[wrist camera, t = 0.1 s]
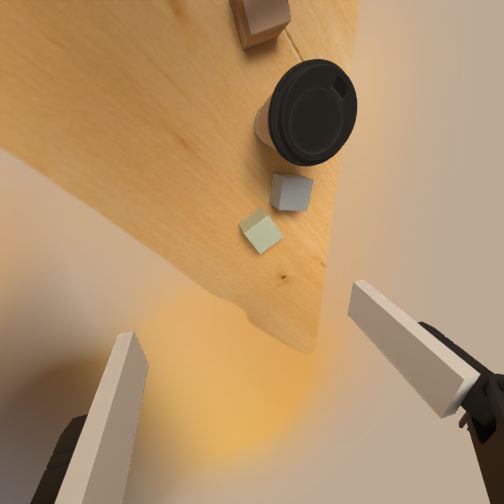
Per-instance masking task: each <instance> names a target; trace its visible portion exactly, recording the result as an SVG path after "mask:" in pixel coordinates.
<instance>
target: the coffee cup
mask: <svg viewBox="0 0 504 504" xmlns="http://www.w3.org/2000/svg"><path fill="white" fill-rule="evenodd" d="M356 115H357V98H356V92H355V89H354V86H353V84H352V82H351V80H350V79H349V77H348V76H347V75H346V74H345V72H344V71H343V70H342V69H341V68H340V67H339V66H337V65H336V64H334V63H333V62H330V61H327V60H323V59H313V60H307V61H304V62H301V63H299V64H297V65H295V66H294V67H292V68H291V69H290V70H288V71H287V72H286V73H285V74H284V76H283V77H282V78H281V79H280V81H279V82H278V84H277V86H276V88H275V90H274V92H273V94H272V95H271V96H270V97H269V98H268V99H267V100H266V102H265V103H264V105H263V106H262V107H261V108H260V110H259V111H258V113H257V115H256V118H255V122H254V129H255V132H256V134H257V136H258V138H259V139H260V140H261V141H262V142H263V143H265V144H267V145H269V146H270V147H271V148H273V149H275V150H277V151H278V152H279V154H280V155H281V156H282V157H283V158H284V159H286V160H287V161H289V162H290V163H292V164H295V165H298V166H313V165H317V164H320V163H323V162H325V161H327V160H329V159H330V158H331V157H333V156H334V155H335V154H336V153H337V152H338V151H339V150H340V149H341V147H342V146H343V145H344V144H345V142H346V141H347V139H348V138H349V136H350V134H351V132H352V130H353V127H354V124H355V121H356Z"/></svg>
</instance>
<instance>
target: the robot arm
mask: <svg viewBox="0 0 504 504" xmlns="http://www.w3.org/2000/svg"><path fill="white" fill-rule="evenodd" d="M348 315H349V316H350V318H352V320H353V321H354V322H355V323H356V324H357V325H358V327H359V328H360V329H361V330H362V331H363V332H364V333H365V334H366V335H367V337H368V338H369V339H370V340H371V341H372V342H373V343H374V344H375V346H376V347H377V348H378V349H379V350H380V351H381V352H382V353H383V354H384V355H385V357H386V358H387V359H388V360H389V361H390V362H391V363H392V364H393V366H394V367H395V368H396V369H397V370H398V371H399V372H400V374H401V375H402V376H403V377H404V378H405V379H406V380H407V381H408V382H409V384H410V385H411V386H412V387H413V388H414V389H415V390H416V391H417V393H418V394H419V395H420V396H421V397H422V398H423V399H424V400H425V401H426V402H427V404H428V405H429V406H430V407H431V408H432V409H433V410H434V412H435V413H436V414H437V415H438V416H439V417H440V418H444V417H446V416H449V415H452V414H455V413H456V411H457V410H458V408H459V407H460V405H461V406H462V407H463V408H464V409H465V410H466V413H465V414H464V415H463V417H462V418H461V420H460V422H459V427H460V428H463V427H464V425H465V424H466V422H467V425H468V428H467V430H468V431H469V432H470V435H471V439H472V442H473V445H474V449H475V452H476V456H477V459H478V463H479V466H480V470H481V473H482V476H483V480H484V483H485V487H486V490H487V494H488V497H489V501H490V504H504V375H502V374H494V373H493V372H491V371H490V370H488V369H487V368H486V367H484V366H483V365H482V364H481V363H479V362H478V361H477V360H475V359H474V358H473V357H472V356H470V355H469V354H468V353H466V352H465V351H464V350H463V349H461V348H460V347H459V346H457V345H455V344H454V343H453V342H452V341H451V340H449V339H448V338H446V337H445V336H444V335H443V334H442V333H441V332H439V331H438V330H437V329H435V328H434V327H432V326H430V325H428V324H426V323H424V322H418V323H417V322H416V321H414V320H413V319H412V318H411V317H409V316H408V315H407V314H406V313H404V312H403V311H402V310H400V309H399V308H398V307H397V306H396V305H395V304H393V303H392V302H391V301H390V300H388V299H387V298H386V297H385V296H383V295H382V294H381V293H380V292H378V291H377V290H376V289H375V288H373V287H372V286H371V285H370V284H369V283H367V282H366V281H365V280H360V281H355V282H353V286H352V292H351V298H350V304H349V310H348ZM148 366H149V364H148V361H147V359H146V357H145V355H144V353H143V350H142V348H141V346H140V344H139V341H138V339H137V337H136V335H135V332H134V331H131V332H127V333H122V334H118V336H117V339H116V342H115V345H114V347H113V350H112V353H111V355H110V358H109V361H108V363H107V366H106V369H105V371H104V374H103V376H102V379H101V382H100V384H99V387H98V390H97V393H96V395H95V398H94V400H93V403H92V406H91V408H90V411H89V414H87V415H83V416H79V417H76V418H73V419H72V421H71V422H70V423H69V425H68V426H67V428H66V429H65V430H64V431H63V433H62V434H61V436H60V438H59V440H58V442H57V445H56V447H55V449H54V451H53V455H52V456H51V458H50V461H49V463H48V465H47V470H46V471H45V472H44V474H43V477H42V479H41V481H40V483H39V485H38V488H37V490H36V492H35V494H34V497H33V499H32V501H31V503H30V504H122V503H123V498H124V493H125V487H126V482H127V477H128V472H129V466H130V461H131V455H132V451H133V445H134V440H135V435H136V429H137V424H138V419H139V413H140V408H141V403H142V397H143V392H144V387H145V382H146V377H147V371H148Z"/></svg>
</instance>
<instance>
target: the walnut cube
mask: <svg viewBox="0 0 504 504" xmlns="http://www.w3.org/2000/svg"><path fill="white" fill-rule="evenodd" d="M229 2H230V5H231V9H232V13H233V16H234V20H235V24H236V27H237V31H238V35H239V38H240V42H241V46H242V49H243V50H245V49H248V48H250V47H253V46H256V45H258V44H261V43H263V42H266V41H269V40H271V39H274V38H277V37H278V35H279V34H280V33H281V32H282V31H283V29H284V28H285V27H286V26H287V25H288V23H289V22H290V21H291V16H290V10H289V4H288V0H229Z"/></svg>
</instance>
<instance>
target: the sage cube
mask: <svg viewBox="0 0 504 504" xmlns="http://www.w3.org/2000/svg"><path fill="white" fill-rule="evenodd" d="M238 224H239V226H240V228H241V229H242V231H243V233H244V234H245V236H246V237H247V238H248V239H249V241H250V242H251V243H252V244H253V246H254V247H255V248H256V250H257V251H258V252H259V253H260V254H261V253H263V252H264V251H265V250H267V249H268V248H269V247H271V246H272V245H274V244H275V243H276V242H278V241H279V240H280V239H282V238H283V235H282V234H281V232H280V231H279V229H278V228H277V226H276V225H275V223H274V222H273V220H272V219H271V217H270V216H269V214H267V213H266V212H265V211H264V210H263V209H262V208H261V207H260V208H258V209H257V210H256V211H254V212H253V213H252V214H250V215H249V216H248V217H246V218H245V219H244V220H242V221H241V222H240V223H238Z"/></svg>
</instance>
